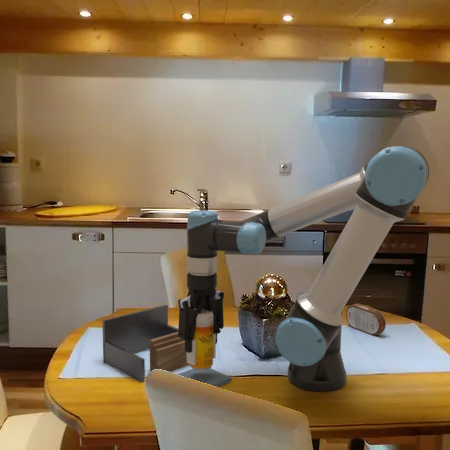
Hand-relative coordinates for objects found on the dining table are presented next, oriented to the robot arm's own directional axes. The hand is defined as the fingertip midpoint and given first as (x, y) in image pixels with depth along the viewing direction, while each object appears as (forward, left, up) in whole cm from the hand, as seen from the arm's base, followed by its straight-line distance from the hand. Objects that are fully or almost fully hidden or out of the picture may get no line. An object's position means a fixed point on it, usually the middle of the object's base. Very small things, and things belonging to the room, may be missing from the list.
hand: (201, 359), depth 139 cm
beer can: (0, 0, -2) cm, 2 cm away
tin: (-8, -65, -6) cm, 66 cm away
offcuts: (+12, +1, -6) cm, 13 cm away
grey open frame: (+19, +1, -6) cm, 20 cm away
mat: (0, 0, -6) cm, 6 cm away
